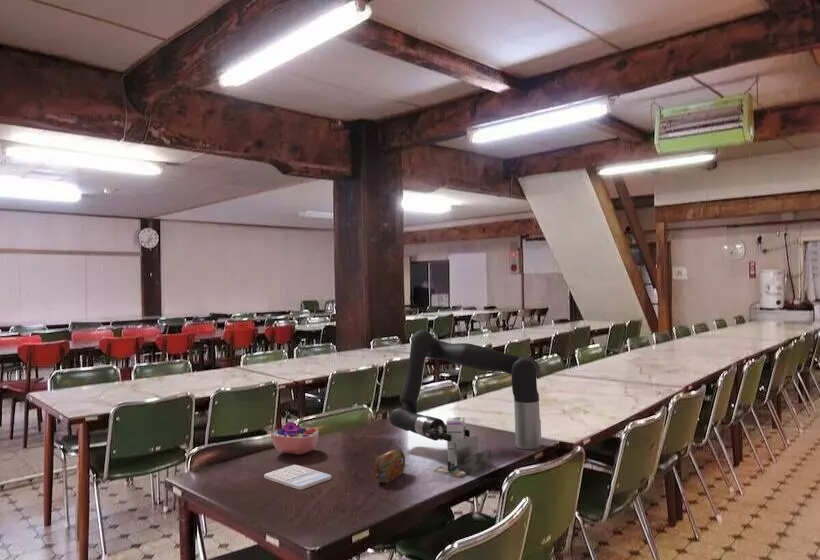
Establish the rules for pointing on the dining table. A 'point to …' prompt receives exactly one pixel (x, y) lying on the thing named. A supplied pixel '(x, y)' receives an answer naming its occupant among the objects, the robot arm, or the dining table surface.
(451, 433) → the syrup box
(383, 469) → the tin
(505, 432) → the dining table surface
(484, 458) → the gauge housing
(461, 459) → the gauge paddle
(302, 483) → the calculator
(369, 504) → the dining table surface
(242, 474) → the dining table surface
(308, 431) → the cell model
